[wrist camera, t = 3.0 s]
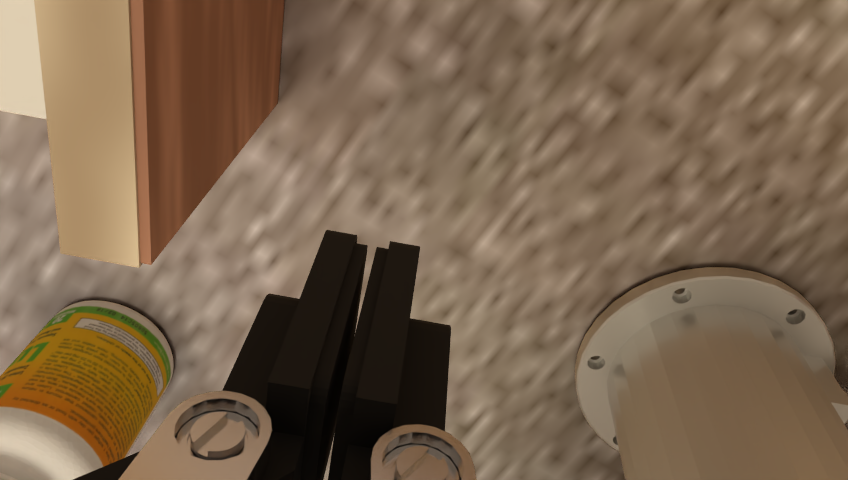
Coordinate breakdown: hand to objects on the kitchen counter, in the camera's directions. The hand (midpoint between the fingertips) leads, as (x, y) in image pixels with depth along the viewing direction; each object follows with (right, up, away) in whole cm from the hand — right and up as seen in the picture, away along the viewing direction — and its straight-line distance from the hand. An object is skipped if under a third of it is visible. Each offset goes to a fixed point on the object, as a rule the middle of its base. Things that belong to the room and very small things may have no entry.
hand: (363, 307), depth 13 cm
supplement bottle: (-16, -5, +27) cm, 32 cm away
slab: (-6, +11, +17) cm, 21 cm away
